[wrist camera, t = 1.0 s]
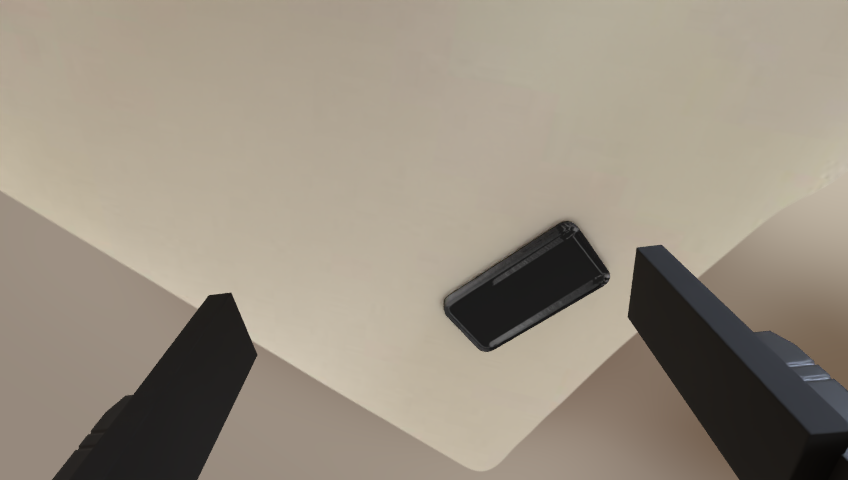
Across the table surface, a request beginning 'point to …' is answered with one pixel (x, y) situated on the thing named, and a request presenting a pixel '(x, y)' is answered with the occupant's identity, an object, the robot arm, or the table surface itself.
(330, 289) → the table surface
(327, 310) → the table surface
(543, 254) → the phone
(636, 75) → the table surface
